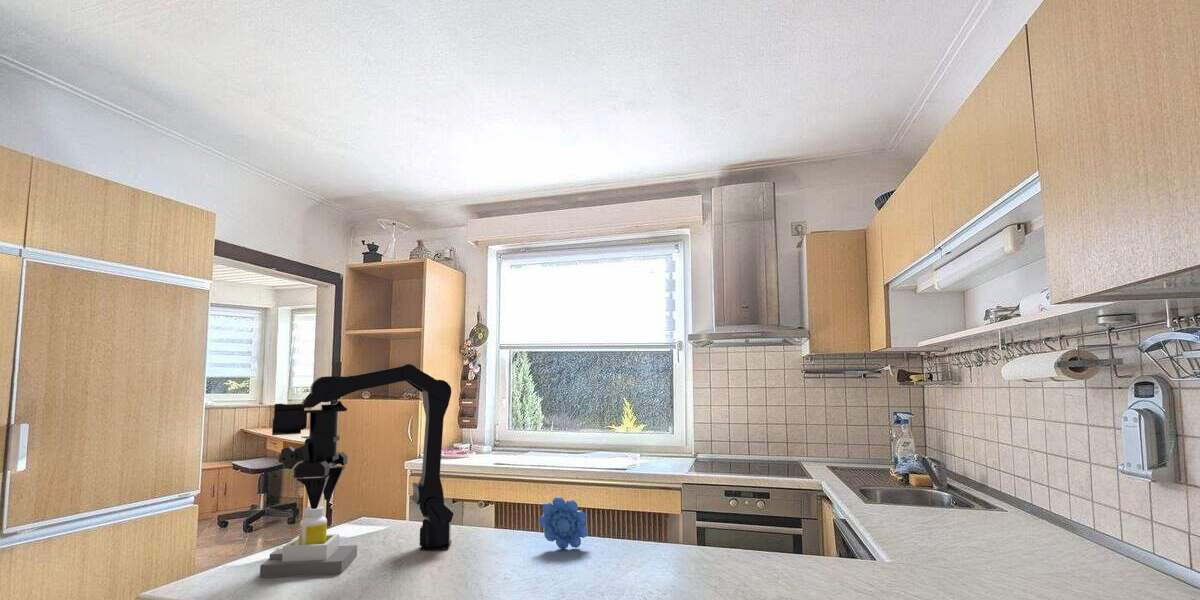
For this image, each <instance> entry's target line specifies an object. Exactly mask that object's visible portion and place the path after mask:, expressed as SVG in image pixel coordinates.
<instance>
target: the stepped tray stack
mask: <svg viewBox="0 0 1200 600" xmlns="http://www.w3.org/2000/svg"><path fill="white" fill-rule="evenodd" d="M357 556H358V545H357V544H355V545H340V533H336V534H333V533H332V534H331V533H330V534H326V543H324V544H312V545H299V535H296V537H293V539H291V540H290V541H289V542H288V543H286V544H285V545H284V546H282V548H276V549H275V550H273V551H272V552H270V553H269V558H268V559H267V560H266V561H264V562H262V564H260V566H259V578H260V579H263V578H267V579H268V578H283V577H284V578H285V577H303V576H304V577H305V576H323V575H338V574H339V575H341V574H343V573H344V571H346V569H347V568H348V567H349V566H350V565H351V564H352V563H353V561H354V560H356V559H357Z"/></svg>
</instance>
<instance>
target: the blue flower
mask: <svg viewBox="0 0 1200 600" xmlns="http://www.w3.org/2000/svg"><path fill="white" fill-rule="evenodd" d="M541 510H542V512H543V514H542V515H540V516H539V519H538V524H539V526H541V528H543V529H545V530H544V531H543V532H544V533H543V534H544V538H545V539H546V540H547V542H551V543H553V542H555V544H556V546H557V547H558V549H561V550H566V549H568V547H569V545H570V546H571V548H576V549H577V548H579V547H580V546H581V544H582V540H581V538H582V539H584V538H586V537H587V536H588V534H589V528H588V527H587V526H586V525H585V524H586V523H587V520H588V517H587V514H586V513H585V511H583V510H579V506H578V503H577V502H576V501H575V500H573V499H569V500H567V501H565V500H564V498H562V497H561V496H558V495H557V496H555V497H553V499H552V503H551V502H545V503H543V504H542V508H541Z"/></svg>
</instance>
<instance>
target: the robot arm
mask: <svg viewBox="0 0 1200 600" xmlns="http://www.w3.org/2000/svg"><path fill="white" fill-rule="evenodd" d="M400 382H406V383H407V384H409V385H410V386H411V387H412V388H414V389H416V390H417V391H418V392H420V393H421V396H422V397H421V398H422V406H423V410H424V414H425V425H424V438H423V453H422V469H421V476H420V479H419V480H418V482H412V491H413V493H412V496H411V498H410V500H411V501H413V505H414V507H415V508H416V510H417V511H418V512H419V513H421V514H422V517H423V518H424V519H423V520H422V524H421V526H420V528H419V547H420V551H436V550H437V551H438V550H449V549H450V546H451V545H452V544H451V543H452V539H451V533H452V531H451V527H452V525H451V523H452V519H453V517H454V512H453V511H451V510H450V509H449V507H447V506H446V504H445V498H444V489H443V484H442V480H441V465H442V464H441V463H442V462H441V461H442V450H443V449H442V447H443V432H444V418H445V414H446V412H447V410H448V407H449V406H450V405H449V404H450V400H451V396H452V388H451V385H450V384H449V383H448V381H445V380H443V379H436V378H434V377H433V376H431V375H429V374H427V373H426V372H424V371H422V370H421V369H419V368H417V367H416V365H414V364H411V363H405V364H402V365H400V366H396V367H390V368H389V367H388V368H385V369H380V370H373V371H370V372H364V373H360V374H359V373H358V374H354V375H331V376H320V377H317V378H316V379H315V380H314V381H313V382H312V383H311V385H310V388H309V389H310V390H309V391H310V392H309V394H307V395H306V397H305V398H303V400H302V402H301V403H286V404H285V403H275V404H274V407H273V418H272V426H271V427H272V429H271V434H272V435H271V436H285V435H286V436H287V435H301V433H302V431H304V430H306V429H307V427H308V426H307V422H308V414H309V433H308V434H309V435H308V438H306V439H305V440H304V445H302V446H299V447H297V448H294V447H293V446H291V445H289V446H287V447H284V448H282V449H281V451H280V454H279V455H278V457H279V459H278V463H281V464H282V467H283V469H286V468H289V467H291V466H293V465H296V466H295V467H294V468H293V476H292V477H293V478H295V480H296V481H297V482H300V483H301V484H302V485H304V488H305V491H306V494H307V498H308V502H309V504H310V507H311V508H312V509H316V508H317V507H318V506H320V505H319V504H320V502H321V499H322V496H323V497H324V498H323V499H324V500H325V501H329V500H331V498H332V495H333V493H334V491H335V489H336V486H337V484H338V483H339V481H340V479H341V476H342V474H343V472H344V470H345V468H346V465H348V455H347V454H346V453H345V452H344V451H343V452H342V451H339V452H337V451H338V449H337V447H338V441H340V439H341V438H340V435H338V421H339V420H338V416H339V415H338V412H339V413H340V412H347V411H348V408H347V407H346V406H344V405H343V403H342V401H340V400H337V399H341V398H342V397H345V396H348V395H351V394H354V393H355V392H357V391H361V390H367V389H372V388H377V387H382V386H386V385H390V384H396V383H400ZM335 400H337V401H336V402H335V403H334V404H332V403H331V404H321V403H329V402H333V401H335ZM319 404H321V405H320V409H310V408H315V407H316V406H317V405H319ZM307 408H309V409H307Z"/></svg>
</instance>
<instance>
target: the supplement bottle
mask: <svg viewBox="0 0 1200 600" xmlns="http://www.w3.org/2000/svg"><path fill="white" fill-rule="evenodd" d="M324 514H325V506H323V505H318V507H317V508H316V509H312V508H311V506H308V507H305V508H304V509H303V516H304V518H302V519H301V520H300V523H299V531H298V534H299V535H298V536H299V545H312V544H324V543H326V535H327V531H328V529H327V527H328V519H327V517H325V516H324Z"/></svg>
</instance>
